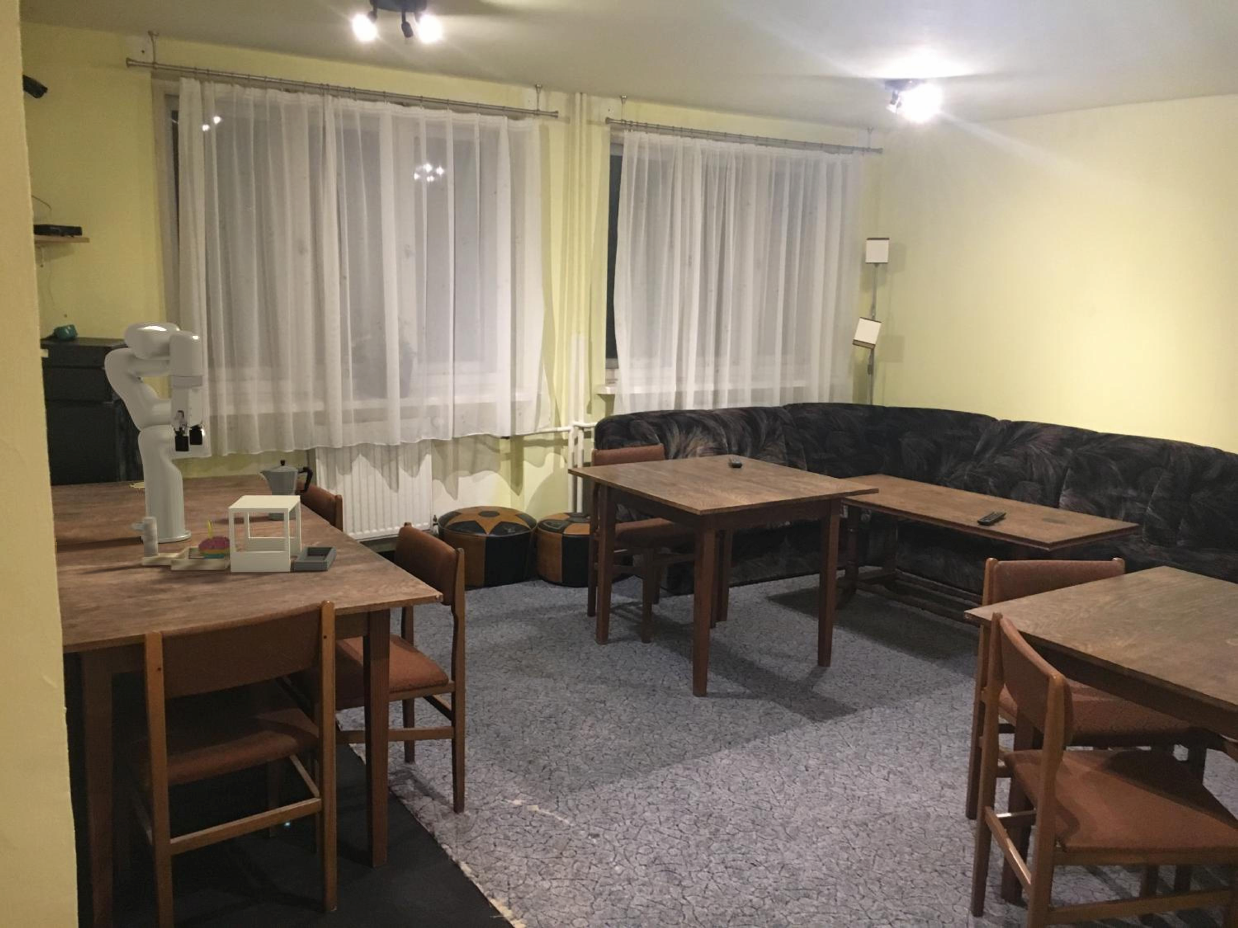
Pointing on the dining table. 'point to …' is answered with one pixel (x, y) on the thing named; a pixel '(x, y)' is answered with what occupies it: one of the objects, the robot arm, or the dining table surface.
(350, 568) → the dining table surface
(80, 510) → the dining table surface
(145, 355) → the robot arm
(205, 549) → the cupcake
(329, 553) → the grey shallow rectangular tray
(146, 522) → the cream frame with post
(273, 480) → the coffeepot
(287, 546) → the white open frame box
